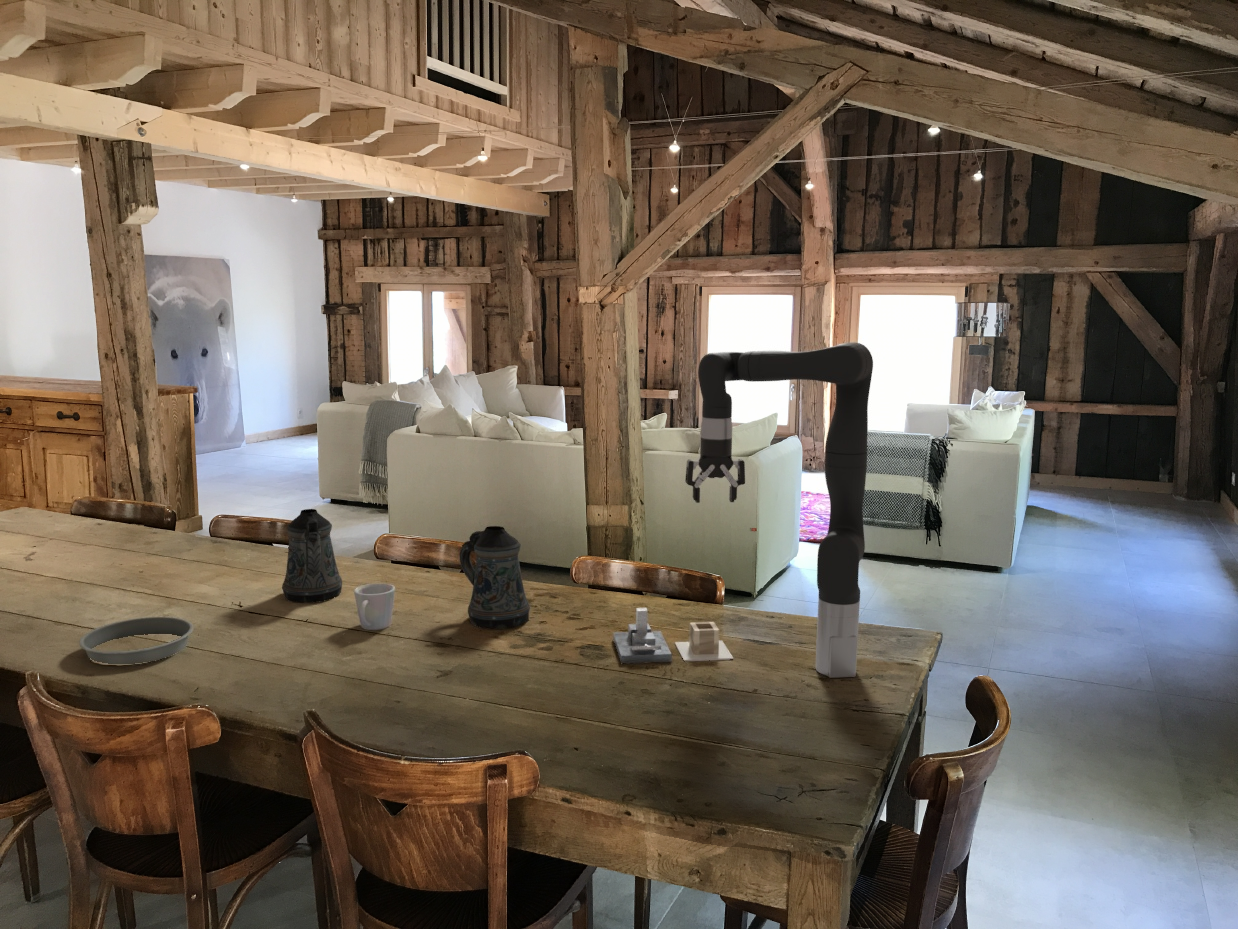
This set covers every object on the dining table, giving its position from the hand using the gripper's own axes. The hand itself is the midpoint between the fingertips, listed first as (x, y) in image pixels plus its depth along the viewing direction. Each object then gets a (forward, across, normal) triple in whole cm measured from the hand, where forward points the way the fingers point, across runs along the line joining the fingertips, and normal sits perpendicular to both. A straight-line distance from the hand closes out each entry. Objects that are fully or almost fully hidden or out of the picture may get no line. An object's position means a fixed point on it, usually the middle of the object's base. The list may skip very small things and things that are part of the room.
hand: (714, 502), depth 228 cm
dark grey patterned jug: (+36, -105, +50) cm, 122 cm away
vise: (+36, -18, -3) cm, 40 cm away
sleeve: (+36, -3, -5) cm, 36 cm away
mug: (+36, -85, +20) cm, 95 cm away
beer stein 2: (+36, -54, +24) cm, 69 cm away
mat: (+36, -3, -5) cm, 37 cm away
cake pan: (+37, -139, +10) cm, 144 cm away
